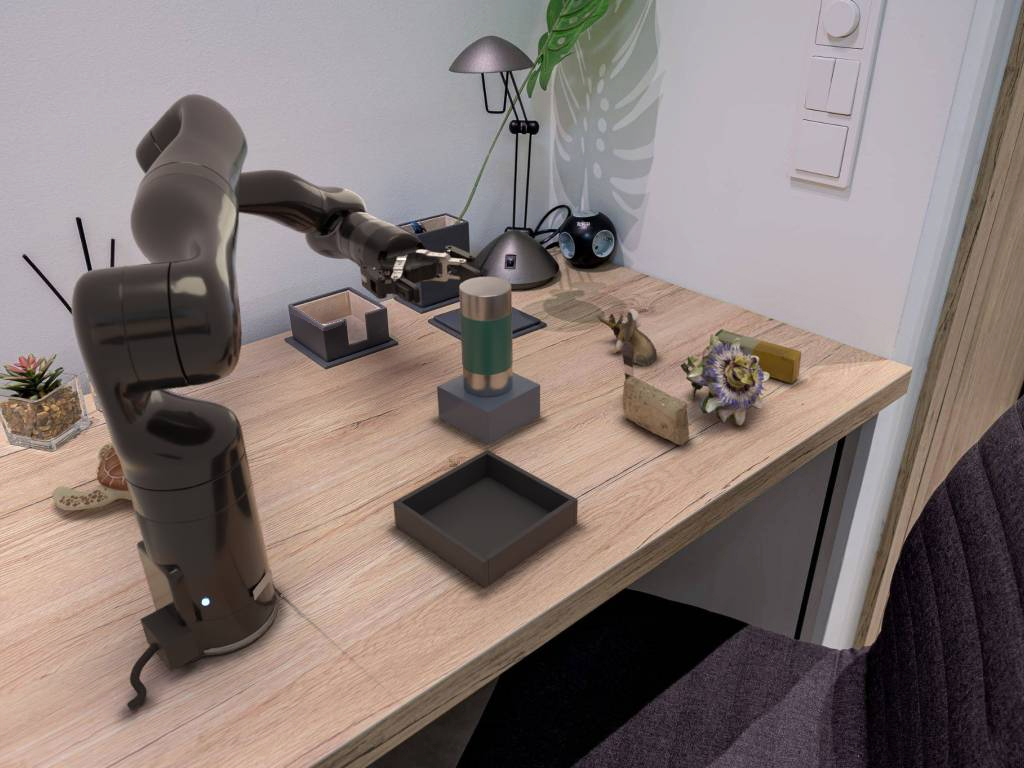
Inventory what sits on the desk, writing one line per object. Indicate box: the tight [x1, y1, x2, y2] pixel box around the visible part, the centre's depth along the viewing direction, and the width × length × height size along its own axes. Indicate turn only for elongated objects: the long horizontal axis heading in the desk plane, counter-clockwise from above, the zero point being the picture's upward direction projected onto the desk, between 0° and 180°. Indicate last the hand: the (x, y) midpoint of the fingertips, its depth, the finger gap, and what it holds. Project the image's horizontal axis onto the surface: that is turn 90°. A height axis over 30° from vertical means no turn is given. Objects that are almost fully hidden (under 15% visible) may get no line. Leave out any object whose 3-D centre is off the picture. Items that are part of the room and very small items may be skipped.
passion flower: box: [680, 334, 770, 427], centre depth 103 cm, size 11×11×12 cm
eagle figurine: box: [596, 308, 658, 367], centre depth 118 cm, size 8×7×9 cm
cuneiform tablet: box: [621, 353, 690, 446], centre depth 100 cm, size 7×4×12 cm
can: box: [458, 276, 514, 397], centre depth 98 cm, size 6×6×13 cm
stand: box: [436, 371, 541, 446], centre depth 102 cm, size 9×9×5 cm
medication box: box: [713, 329, 802, 384], centre depth 113 cm, size 12×3×4 cm, turn 50°
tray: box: [392, 449, 579, 589], centre depth 84 cm, size 13×13×4 cm
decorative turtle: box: [52, 442, 132, 511], centre depth 91 cm, size 18×17×5 cm
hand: (448, 288), depth 100 cm, fingers open, 8 cm apart
